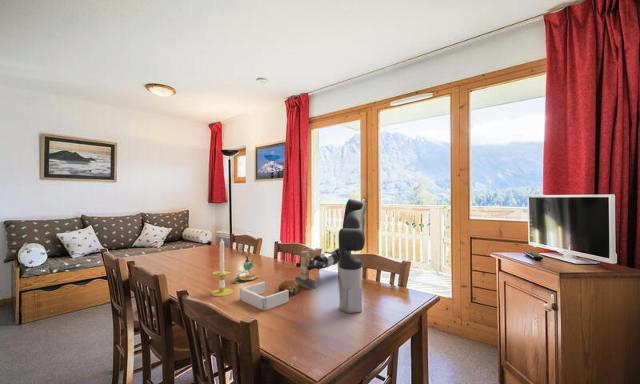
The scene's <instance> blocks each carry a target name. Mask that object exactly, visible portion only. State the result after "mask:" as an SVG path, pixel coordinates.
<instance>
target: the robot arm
mask: <svg viewBox="0 0 640 384" xmlns="http://www.w3.org/2000/svg"><path fill="white" fill-rule="evenodd" d="M366 209H367V208H366V203H365V202H363V201H360V200H356V199H354V198H353V199H352V198H349V199H347V201H346V204H345V208H344V213H343V221H342V227H341V228H340V229H339V231H338V247H337V248H336V249H334V250H332V251H331V252H326V253H322V254H317V255H315V256H314V257H313V258H311V259H309V266H308V270H309V271H312V270H317V271H319V270H322V269H326V268H329V267H331V266H334V265H337V264H339V265H338V267H339V268H338V270H339V271H338V273H339V274H338V281H339V282H338V284H339V285H338V287H339V289H338V291H339V292H338V294H339V295H338V296H339V298H338V299H339V304H338V306H339V307H338V308H339V310H340V311H342V312H343V313H347V314H354V313H361V312H363V304H362V303H363V301H362V300H363V294H362V293H363V290H362V260H361V259H359V258H357V257H355V256H353V255H352V252H360V251H362V250H363V249H364V247H365V244H366V236H365V235H366V234H365V221H366V220H365V216H366ZM338 252H339V253H338ZM295 265H296V268H301V259H300V260H299V262H296V264H295Z"/></svg>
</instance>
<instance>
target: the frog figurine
mask: <svg viewBox="0 0 640 384" xmlns="http://www.w3.org/2000/svg"><path fill="white" fill-rule="evenodd" d="M245 258H246V259H245V261H244V262H243V268H244V270H243V271H241V270H238V271H237V273H238V275H237V276H236V277H235V278H234V282H233V284H234V285H235V284H240V283H241V281H251V280H255V279H257V278H260V277H261V275H256V274H254V272H253V271H252V268H253V266H254V264H253V263H254V260H253V259H252V260H251V261H250V260H249V256H248V254H246V255H245ZM247 271H248V272H249V274H247V273H248V272H247ZM239 272H240V273H239ZM251 273H252V274H251ZM241 274H245V275H242V276H241Z"/></svg>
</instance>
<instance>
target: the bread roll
mask: <svg viewBox="0 0 640 384" xmlns="http://www.w3.org/2000/svg"><path fill="white" fill-rule="evenodd" d="M299 287H300V286H299V285H298V283H297V282H296V281H295V280H294V279H291V278H288V279H283V280H282V281H281V282H280V283H279V284H278V287H277V288H278V293H279V292H282V291H285V290H289V297H290V296H294V295H297V294H298V293H299V291H300V288H299Z"/></svg>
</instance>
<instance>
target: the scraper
mask: <svg viewBox="0 0 640 384" xmlns="http://www.w3.org/2000/svg"><path fill="white" fill-rule="evenodd" d="M300 260H301V267H300V275H298V276H295V277H294V279H295V280H294V281H296V282H297V283H298V285H299V287H302V288H305V289H308V290H315V289H316V280H314V279H311V278H310V270H308V266H309V260H310V251H308V250H303V251H300Z"/></svg>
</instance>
